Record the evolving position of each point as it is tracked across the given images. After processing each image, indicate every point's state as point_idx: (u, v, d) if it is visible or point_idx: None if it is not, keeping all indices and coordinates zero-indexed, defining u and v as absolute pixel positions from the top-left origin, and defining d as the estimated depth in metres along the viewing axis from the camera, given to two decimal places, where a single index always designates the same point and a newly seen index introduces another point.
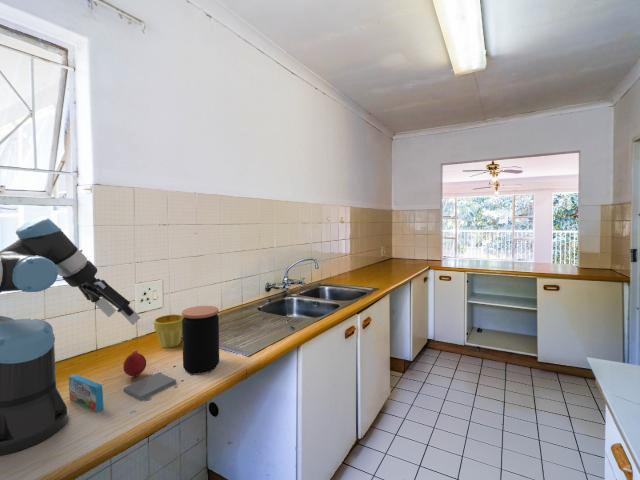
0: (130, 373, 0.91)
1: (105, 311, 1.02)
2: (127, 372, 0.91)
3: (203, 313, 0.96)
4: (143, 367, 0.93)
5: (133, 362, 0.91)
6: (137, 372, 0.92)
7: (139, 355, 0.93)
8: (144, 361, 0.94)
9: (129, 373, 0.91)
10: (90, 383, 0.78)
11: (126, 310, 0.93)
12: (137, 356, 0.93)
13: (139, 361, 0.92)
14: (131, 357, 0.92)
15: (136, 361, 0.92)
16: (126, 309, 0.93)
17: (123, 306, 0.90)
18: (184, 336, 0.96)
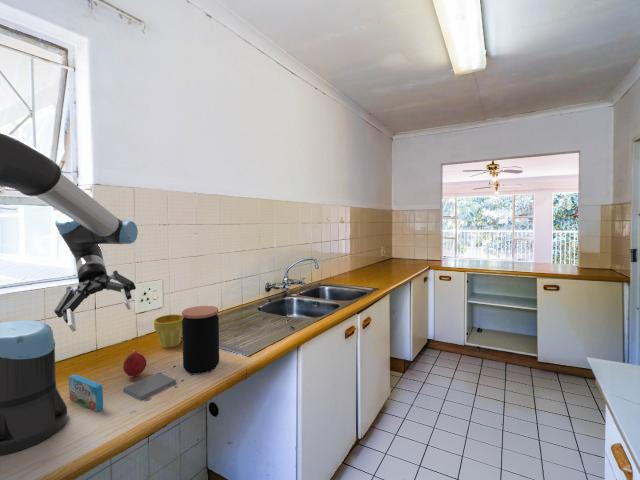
0: (130, 374, 0.91)
1: (71, 319, 0.87)
2: (127, 372, 0.91)
3: (203, 313, 0.96)
4: (143, 367, 0.93)
5: (133, 362, 0.91)
6: (137, 372, 0.92)
7: (139, 355, 0.93)
8: (144, 361, 0.94)
9: (129, 373, 0.91)
10: (90, 383, 0.78)
11: (129, 291, 0.97)
12: (137, 356, 0.93)
13: (139, 361, 0.92)
14: (131, 357, 0.92)
15: (136, 361, 0.92)
16: (129, 290, 0.97)
17: None
18: (184, 336, 0.96)
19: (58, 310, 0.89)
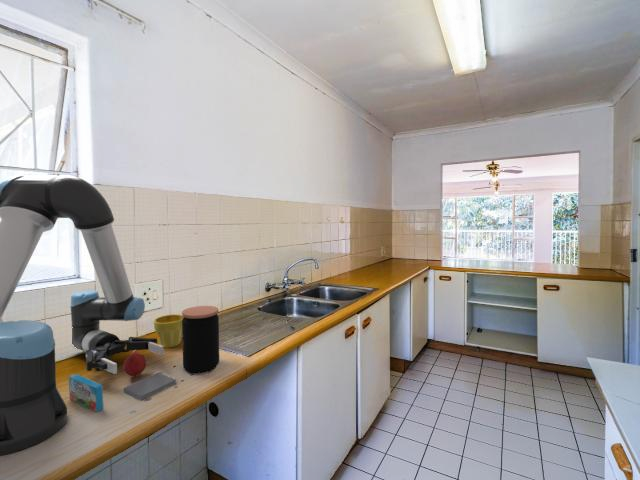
0: (130, 374, 0.91)
1: None
2: (127, 372, 0.91)
3: (202, 313, 0.96)
4: (143, 367, 0.93)
5: (133, 362, 0.91)
6: (137, 372, 0.92)
7: (139, 355, 0.93)
8: (144, 361, 0.94)
9: (129, 373, 0.91)
10: (90, 383, 0.78)
11: None
12: (137, 356, 0.93)
13: (139, 361, 0.92)
14: (131, 357, 0.92)
15: (136, 361, 0.92)
16: None
17: None
18: (184, 336, 0.96)
19: (91, 361, 0.88)
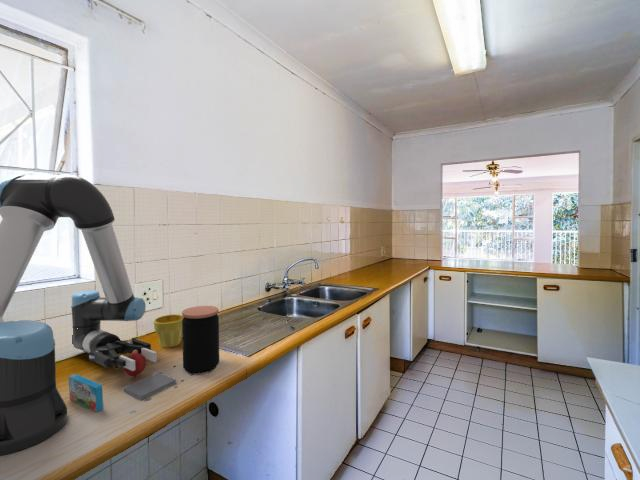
0: (130, 373, 0.91)
1: None
2: (127, 372, 0.91)
3: (203, 313, 0.96)
4: (143, 367, 0.93)
5: None
6: (137, 372, 0.92)
7: (139, 355, 0.93)
8: (144, 361, 0.94)
9: (129, 373, 0.91)
10: (90, 383, 0.78)
11: None
12: (137, 356, 0.93)
13: (139, 361, 0.92)
14: (131, 357, 0.92)
15: (136, 361, 0.92)
16: None
17: None
18: (184, 336, 0.96)
19: (109, 358, 0.90)
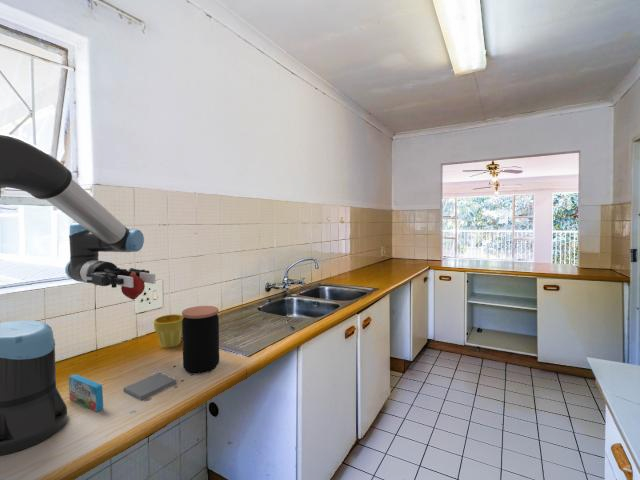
0: (128, 293, 0.90)
1: None
2: (125, 292, 0.90)
3: (203, 313, 0.96)
4: (141, 289, 0.92)
5: None
6: (135, 293, 0.90)
7: (137, 277, 0.92)
8: (142, 283, 0.92)
9: (127, 293, 0.90)
10: (90, 383, 0.78)
11: None
12: (135, 277, 0.91)
13: (137, 281, 0.91)
14: None
15: (134, 281, 0.90)
16: None
17: None
18: (184, 336, 0.96)
19: (107, 276, 0.89)
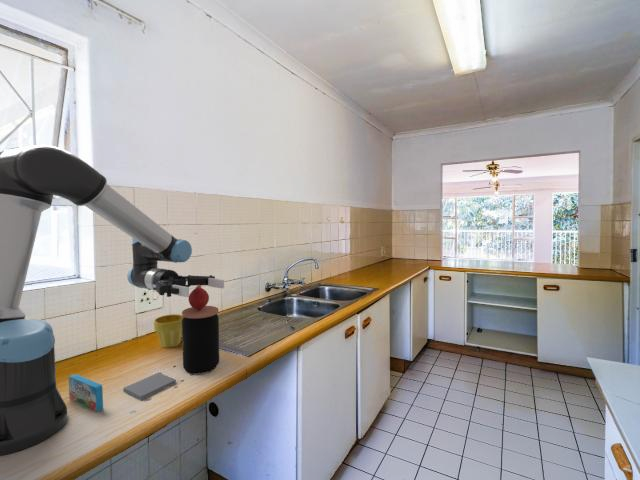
0: (196, 305, 0.96)
1: None
2: (193, 304, 0.96)
3: (202, 313, 0.96)
4: (207, 300, 0.98)
5: (198, 295, 0.96)
6: (202, 304, 0.97)
7: (203, 289, 0.99)
8: (207, 295, 0.99)
9: (195, 305, 0.96)
10: (90, 383, 0.78)
11: None
12: (201, 289, 0.98)
13: (204, 294, 0.97)
14: (196, 290, 0.97)
15: (201, 294, 0.97)
16: None
17: None
18: (184, 336, 0.96)
19: (163, 286, 0.93)
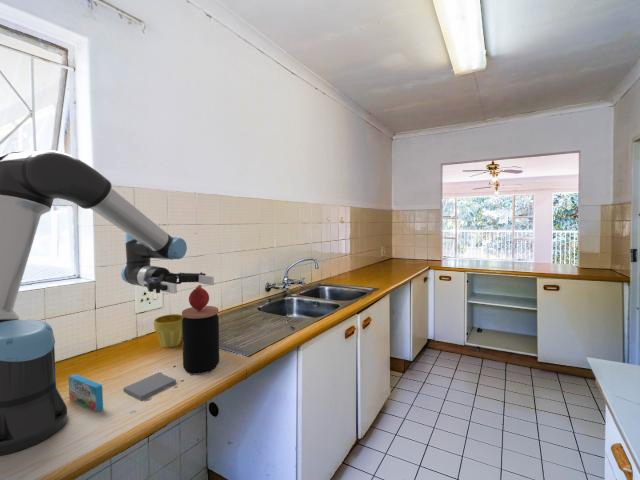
0: (196, 305, 0.96)
1: None
2: (193, 304, 0.96)
3: (203, 313, 0.96)
4: (207, 301, 0.98)
5: (199, 295, 0.96)
6: (202, 304, 0.97)
7: (203, 289, 0.99)
8: (208, 295, 0.99)
9: (195, 305, 0.96)
10: (90, 383, 0.78)
11: None
12: (201, 289, 0.98)
13: (204, 294, 0.97)
14: (196, 290, 0.97)
15: (201, 294, 0.97)
16: None
17: None
18: (184, 336, 0.96)
19: (152, 283, 0.96)
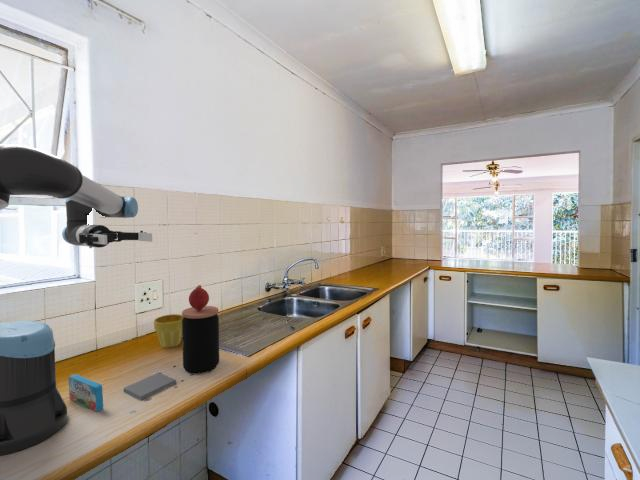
0: (196, 305, 0.96)
1: None
2: (193, 304, 0.96)
3: (203, 313, 0.96)
4: (207, 301, 0.98)
5: (199, 295, 0.96)
6: (202, 304, 0.97)
7: (203, 289, 0.99)
8: (207, 295, 0.99)
9: (195, 305, 0.96)
10: (90, 383, 0.78)
11: None
12: (201, 290, 0.98)
13: (204, 294, 0.97)
14: (196, 290, 0.97)
15: (201, 294, 0.97)
16: None
17: None
18: (184, 336, 0.96)
19: (83, 235, 0.94)
